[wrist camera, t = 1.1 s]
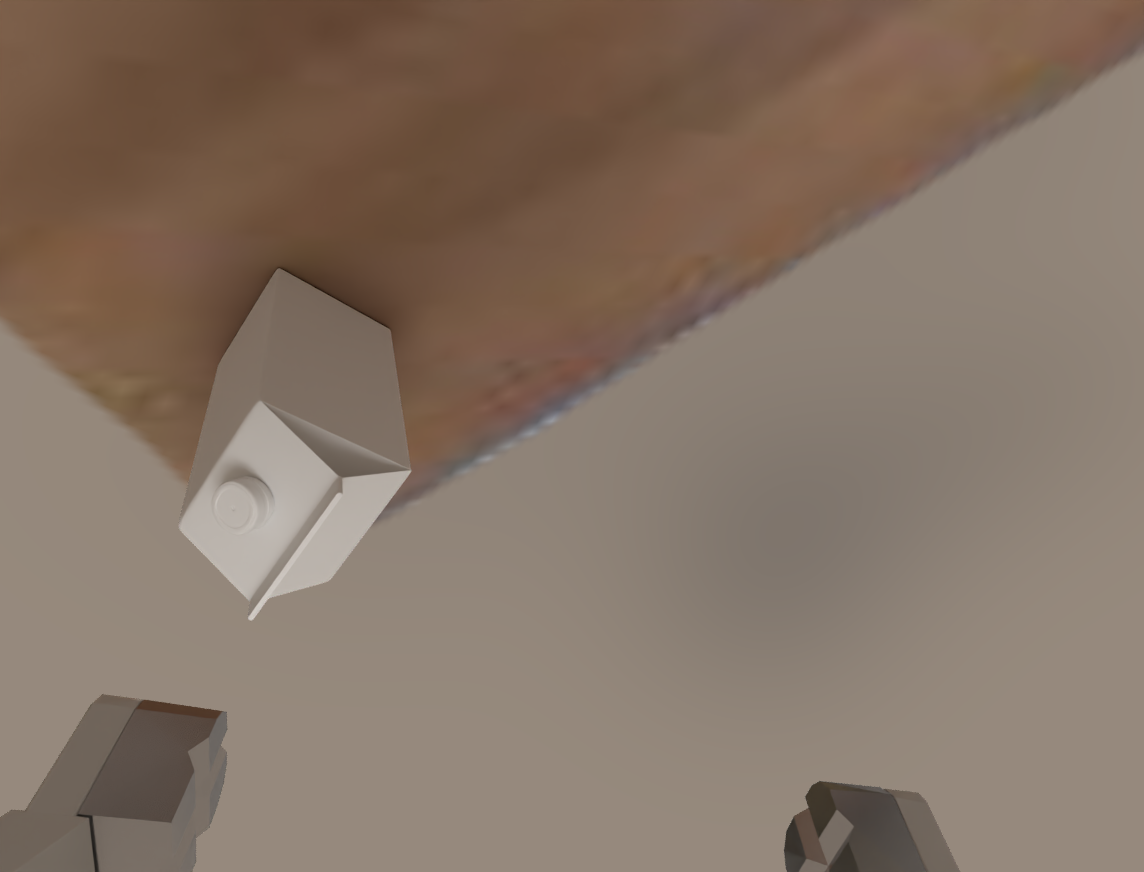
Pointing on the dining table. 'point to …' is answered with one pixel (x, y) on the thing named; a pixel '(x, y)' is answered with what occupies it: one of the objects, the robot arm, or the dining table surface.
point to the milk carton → (296, 443)
